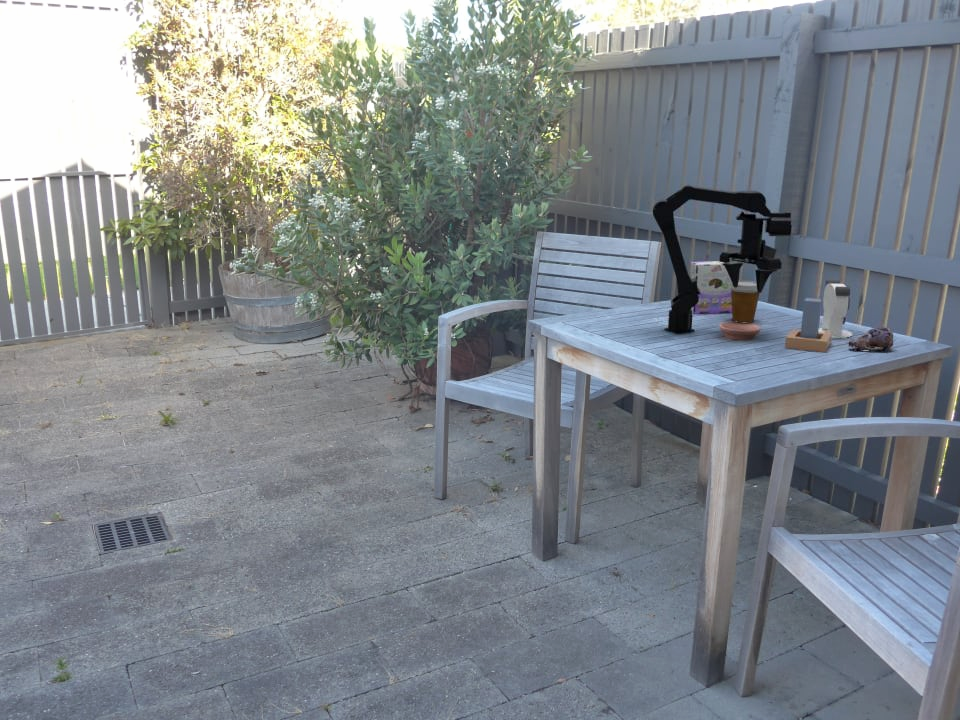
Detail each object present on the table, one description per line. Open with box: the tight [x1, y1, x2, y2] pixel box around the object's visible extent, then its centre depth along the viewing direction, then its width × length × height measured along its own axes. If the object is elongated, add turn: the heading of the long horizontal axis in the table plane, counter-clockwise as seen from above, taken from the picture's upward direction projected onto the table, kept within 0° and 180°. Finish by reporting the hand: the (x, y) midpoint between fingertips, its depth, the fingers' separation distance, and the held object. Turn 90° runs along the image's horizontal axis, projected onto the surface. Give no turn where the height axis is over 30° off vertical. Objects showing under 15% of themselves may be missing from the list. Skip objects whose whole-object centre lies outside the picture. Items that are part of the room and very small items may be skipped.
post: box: [800, 297, 823, 339], centre depth 231 cm, size 4×4×13 cm
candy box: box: [689, 260, 732, 315], centre depth 273 cm, size 14×6×16 cm, turn 94°
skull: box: [848, 326, 894, 352], centre depth 228 cm, size 12×8×6 cm, turn 90°
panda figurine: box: [818, 280, 853, 340], centre depth 243 cm, size 12×11×15 cm
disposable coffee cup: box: [730, 280, 761, 324], centre depth 260 cm, size 10×10×12 cm
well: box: [784, 329, 833, 353], centre depth 232 cm, size 10×10×3 cm
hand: (747, 290), depth 243 cm, fingers open, 9 cm apart
